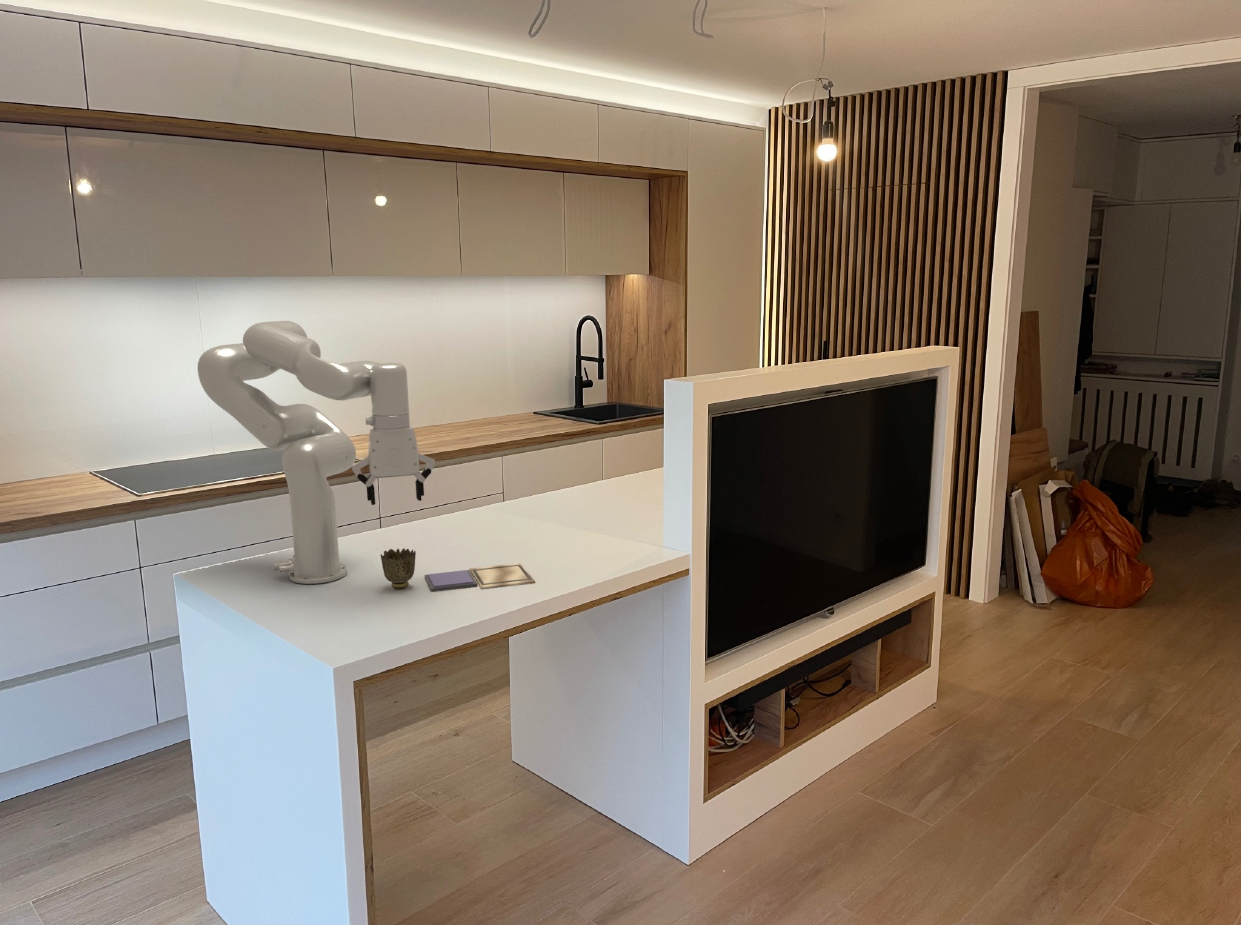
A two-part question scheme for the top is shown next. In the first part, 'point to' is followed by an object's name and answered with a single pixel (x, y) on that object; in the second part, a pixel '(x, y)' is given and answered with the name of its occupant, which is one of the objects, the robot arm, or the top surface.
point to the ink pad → (450, 580)
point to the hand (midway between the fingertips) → (396, 501)
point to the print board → (501, 575)
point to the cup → (398, 567)
